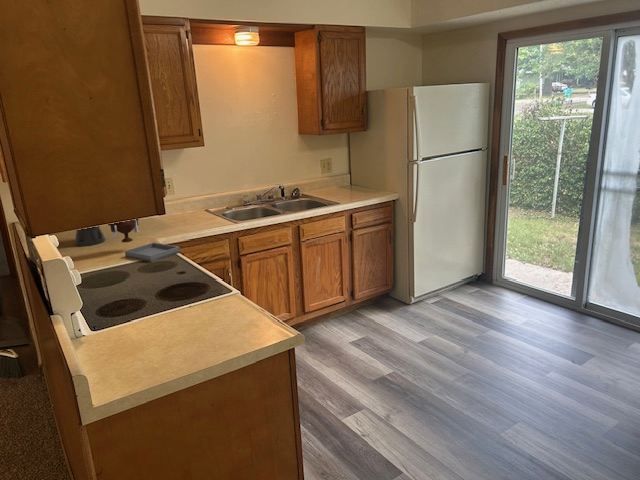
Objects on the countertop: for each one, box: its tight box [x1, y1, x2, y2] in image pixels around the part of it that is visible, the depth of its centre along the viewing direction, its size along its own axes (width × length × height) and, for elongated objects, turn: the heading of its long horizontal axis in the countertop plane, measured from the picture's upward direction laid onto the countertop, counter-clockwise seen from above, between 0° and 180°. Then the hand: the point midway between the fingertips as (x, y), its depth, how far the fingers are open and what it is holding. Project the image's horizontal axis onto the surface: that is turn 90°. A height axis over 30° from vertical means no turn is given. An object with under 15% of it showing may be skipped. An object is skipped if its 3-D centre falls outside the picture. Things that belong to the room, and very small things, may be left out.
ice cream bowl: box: [115, 219, 136, 243], centre depth 244 cm, size 11×11×15 cm
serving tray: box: [124, 241, 181, 263], centre depth 236 cm, size 20×17×3 cm
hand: (126, 235), depth 245 cm, fingers closed on ice cream bowl, 11 cm apart
